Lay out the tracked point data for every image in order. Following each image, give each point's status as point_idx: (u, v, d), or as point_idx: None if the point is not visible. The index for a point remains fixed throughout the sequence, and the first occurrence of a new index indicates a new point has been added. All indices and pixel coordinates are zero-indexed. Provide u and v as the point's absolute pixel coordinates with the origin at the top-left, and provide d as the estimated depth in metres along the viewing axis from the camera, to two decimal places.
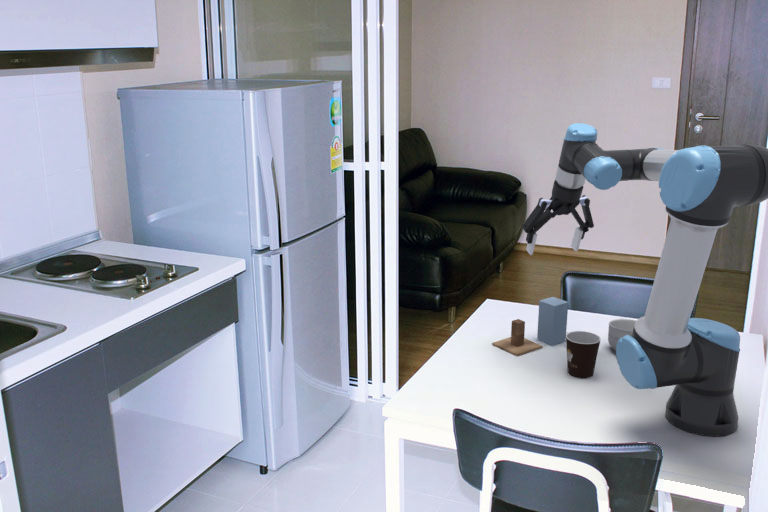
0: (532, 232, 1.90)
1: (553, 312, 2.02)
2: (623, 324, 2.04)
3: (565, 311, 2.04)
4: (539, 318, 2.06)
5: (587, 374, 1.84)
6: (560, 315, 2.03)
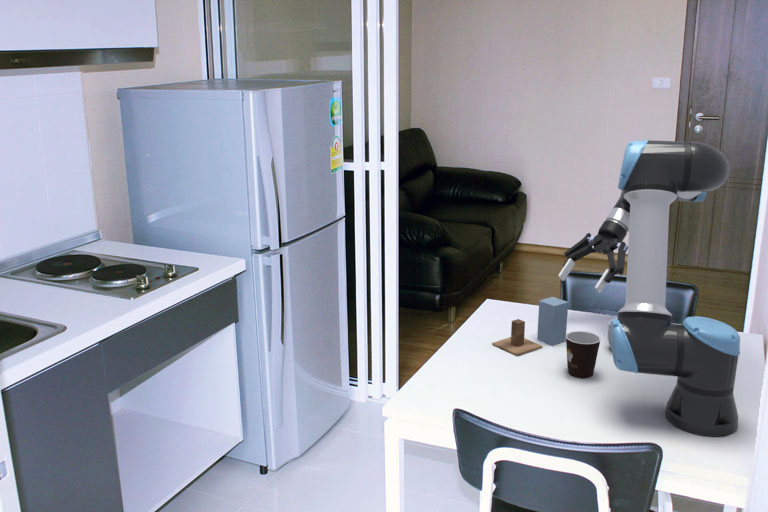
0: (568, 255, 2.17)
1: (553, 312, 2.02)
2: None
3: (565, 311, 2.04)
4: (539, 318, 2.06)
5: (587, 374, 1.84)
6: (560, 315, 2.03)
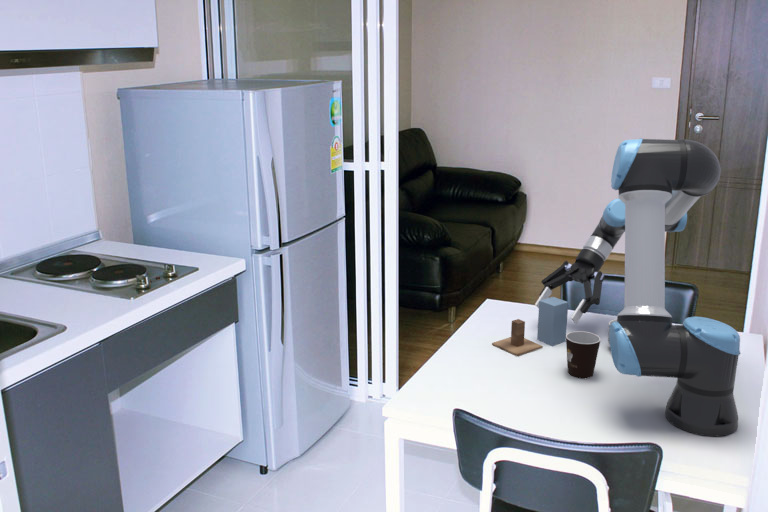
0: (546, 284, 2.14)
1: (553, 312, 2.02)
2: None
3: (565, 311, 2.04)
4: (539, 318, 2.06)
5: (587, 374, 1.84)
6: (560, 315, 2.03)
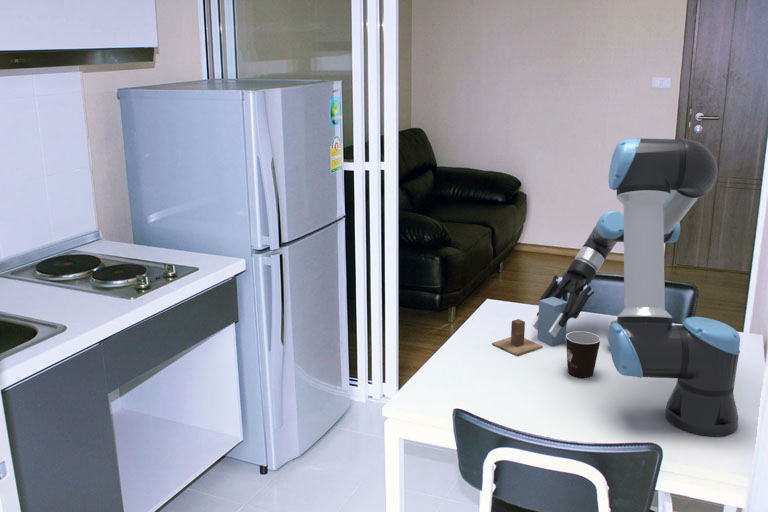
0: None
1: (553, 312, 2.02)
2: None
3: None
4: (539, 318, 2.06)
5: (587, 374, 1.84)
6: None
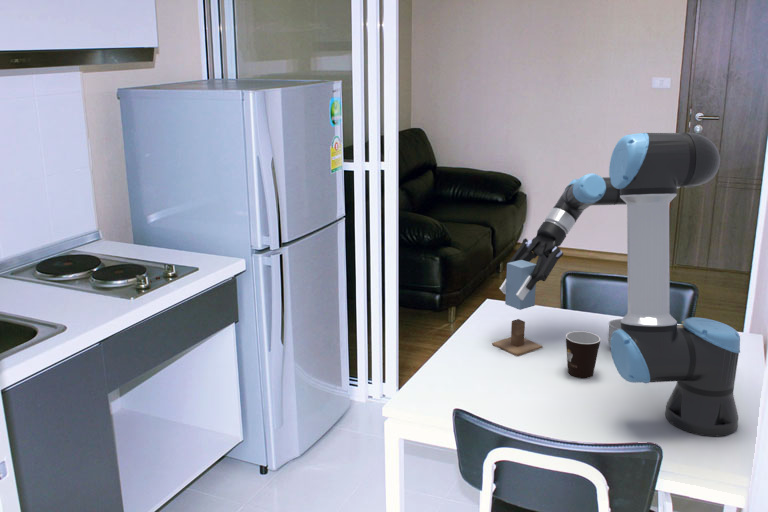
0: None
1: (521, 274, 1.94)
2: None
3: None
4: (507, 281, 1.99)
5: (587, 374, 1.84)
6: None
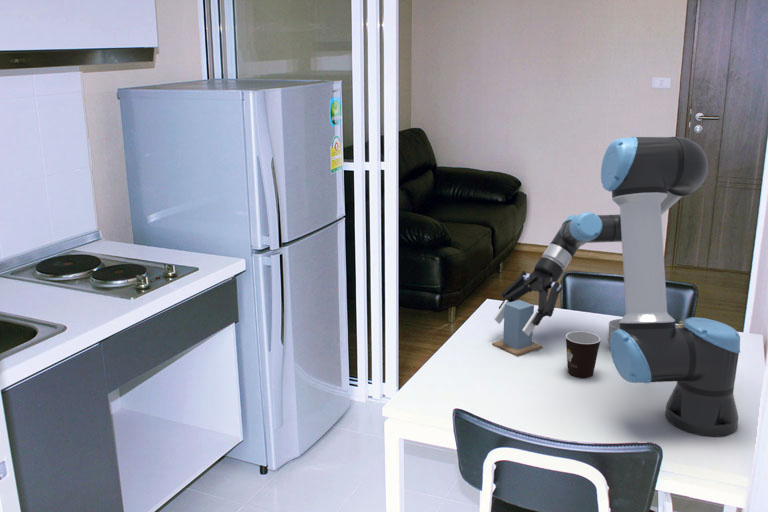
0: (505, 297, 2.07)
1: (518, 315, 1.98)
2: None
3: (531, 314, 2.00)
4: (505, 322, 2.02)
5: (587, 374, 1.84)
6: (526, 319, 1.99)
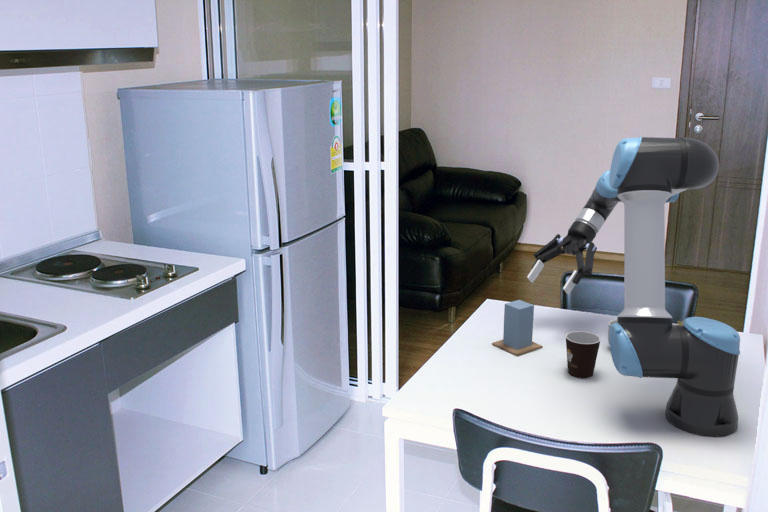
0: (538, 257, 2.13)
1: (518, 315, 1.98)
2: None
3: (531, 314, 2.00)
4: (505, 322, 2.02)
5: (587, 374, 1.84)
6: (526, 319, 1.99)
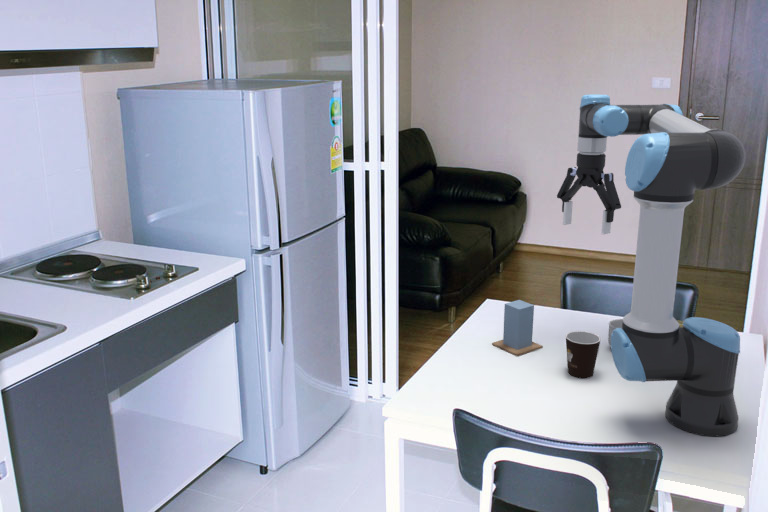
0: (562, 199, 2.04)
1: (518, 315, 1.98)
2: None
3: (531, 314, 2.00)
4: (505, 322, 2.02)
5: (587, 374, 1.84)
6: (526, 319, 1.99)
